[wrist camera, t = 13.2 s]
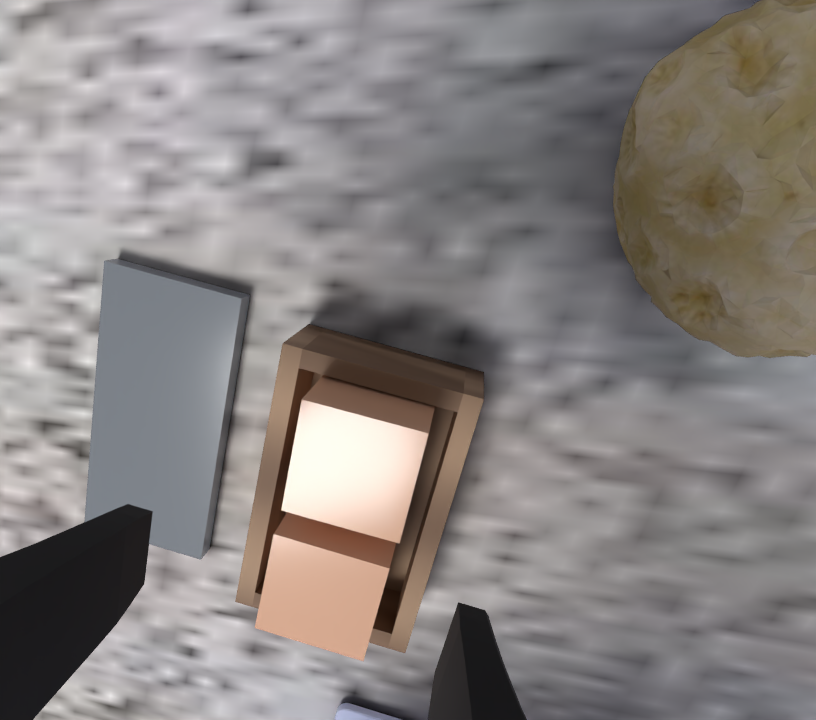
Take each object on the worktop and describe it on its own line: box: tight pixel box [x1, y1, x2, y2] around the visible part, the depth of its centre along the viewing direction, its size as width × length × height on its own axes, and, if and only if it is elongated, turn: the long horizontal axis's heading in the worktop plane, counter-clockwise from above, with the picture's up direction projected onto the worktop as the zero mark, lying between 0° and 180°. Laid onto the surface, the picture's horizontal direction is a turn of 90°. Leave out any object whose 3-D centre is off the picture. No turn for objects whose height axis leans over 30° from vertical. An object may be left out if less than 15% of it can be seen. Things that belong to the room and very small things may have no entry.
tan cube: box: [281, 375, 435, 544], centre depth 20 cm, size 4×4×4 cm
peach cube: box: [255, 512, 396, 661], centre depth 21 cm, size 4×4×4 cm
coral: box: [613, 0, 816, 358], centre depth 15 cm, size 9×9×8 cm
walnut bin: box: [235, 324, 484, 653], centre depth 22 cm, size 11×7×3 cm, turn 166°
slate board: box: [85, 259, 250, 559], centre depth 23 cm, size 12×6×1 cm, turn 166°
